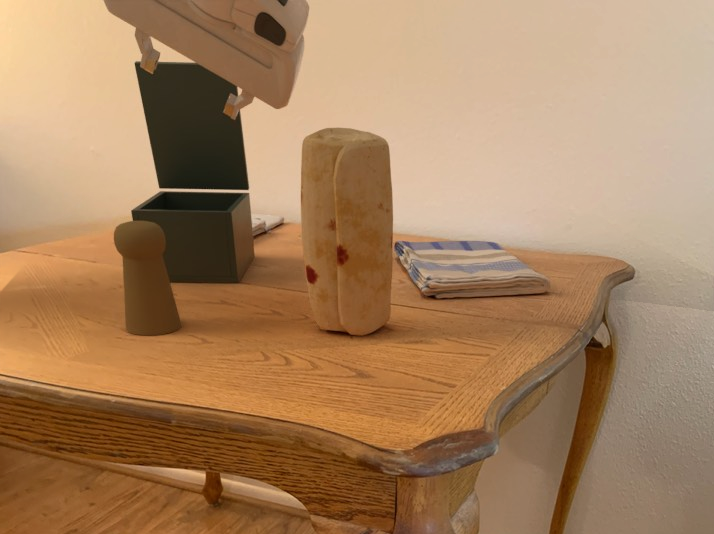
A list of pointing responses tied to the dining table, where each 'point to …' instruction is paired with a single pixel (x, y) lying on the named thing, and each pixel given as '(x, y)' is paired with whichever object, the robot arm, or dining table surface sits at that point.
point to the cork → (146, 279)
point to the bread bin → (202, 234)
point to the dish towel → (467, 269)
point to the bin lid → (192, 128)
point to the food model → (347, 228)
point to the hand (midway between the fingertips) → (190, 91)
